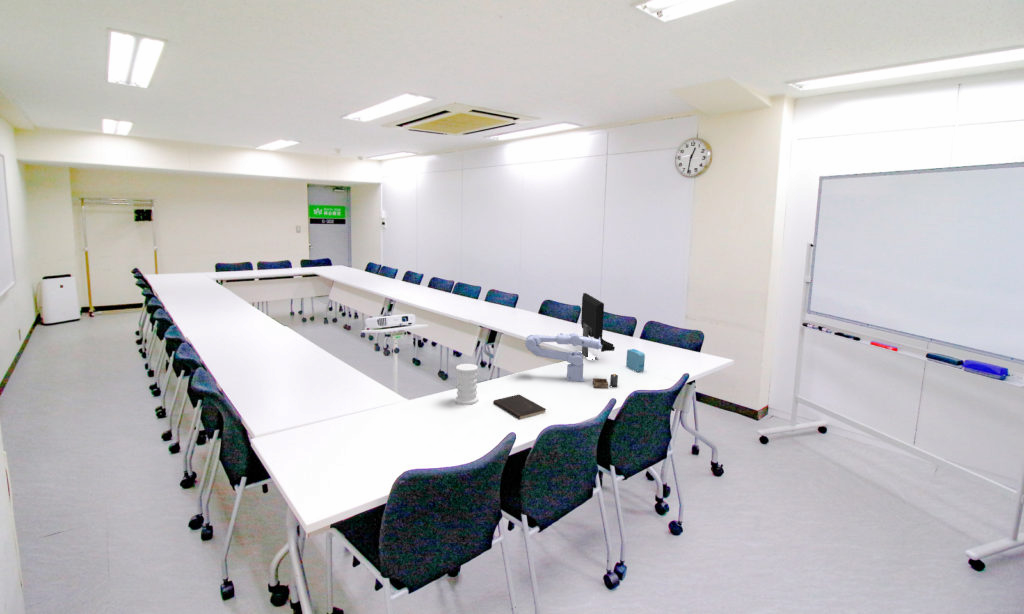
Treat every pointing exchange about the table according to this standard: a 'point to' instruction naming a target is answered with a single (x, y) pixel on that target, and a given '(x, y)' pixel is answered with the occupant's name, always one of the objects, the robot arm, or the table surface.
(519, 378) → the table surface
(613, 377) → the battery cell
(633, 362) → the data package
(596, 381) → the brown square tray
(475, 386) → the decorative container
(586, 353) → the computer monitor
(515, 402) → the hardcover book
